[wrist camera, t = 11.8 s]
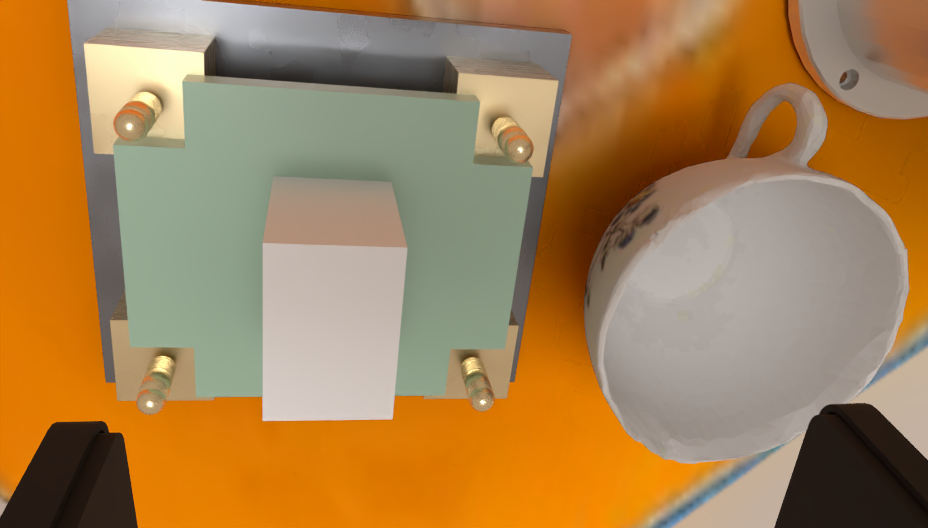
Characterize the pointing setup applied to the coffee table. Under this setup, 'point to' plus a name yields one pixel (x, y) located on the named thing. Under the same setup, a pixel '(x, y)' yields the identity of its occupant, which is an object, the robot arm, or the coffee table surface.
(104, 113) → the chassis
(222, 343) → the circuit board
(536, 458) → the coffee table surface
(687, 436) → the teacup
